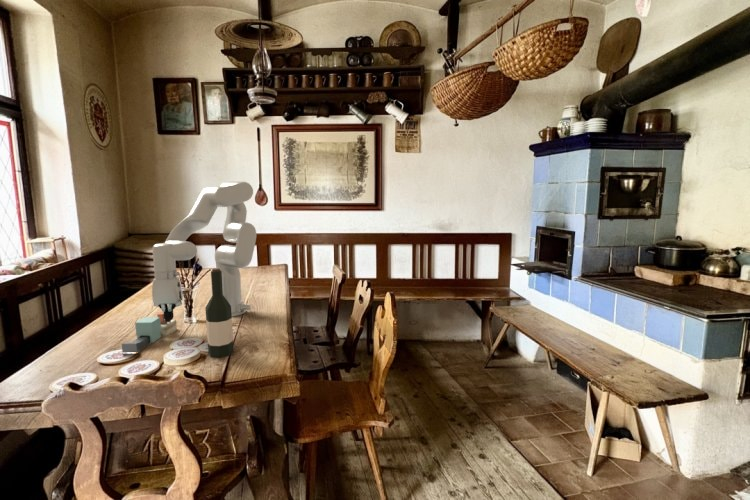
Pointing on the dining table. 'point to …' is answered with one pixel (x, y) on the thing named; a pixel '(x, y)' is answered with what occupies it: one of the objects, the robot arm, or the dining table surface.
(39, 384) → the dining table surface
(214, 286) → the wine bottle
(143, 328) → the carriage
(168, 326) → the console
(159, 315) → the orange clay brick
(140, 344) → the rail
